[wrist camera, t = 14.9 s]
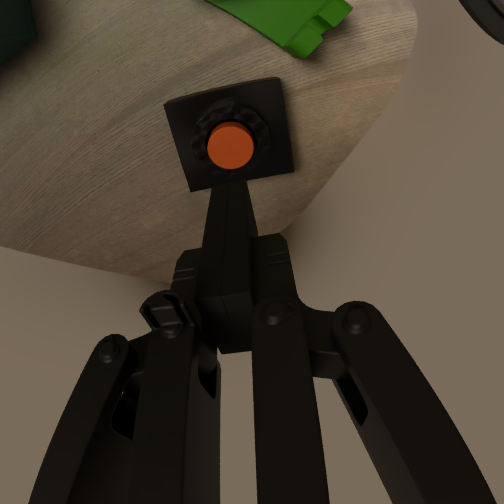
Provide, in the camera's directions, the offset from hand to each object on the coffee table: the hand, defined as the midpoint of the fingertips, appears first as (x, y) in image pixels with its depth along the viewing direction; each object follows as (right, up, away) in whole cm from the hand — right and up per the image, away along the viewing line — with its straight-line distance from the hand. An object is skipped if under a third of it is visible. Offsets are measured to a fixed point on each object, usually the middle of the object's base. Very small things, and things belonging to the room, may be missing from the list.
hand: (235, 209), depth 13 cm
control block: (-1, +9, +13) cm, 16 cm away
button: (-1, +7, +10) cm, 12 cm away
